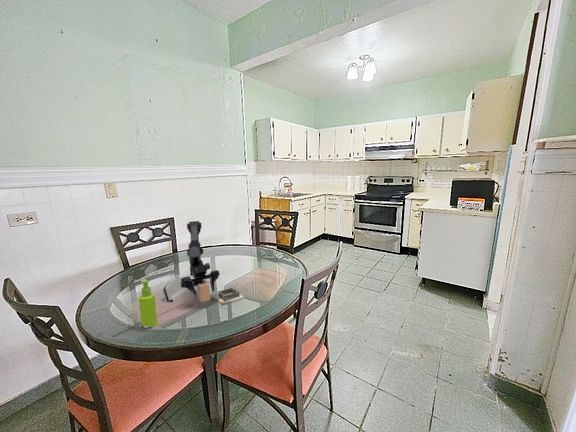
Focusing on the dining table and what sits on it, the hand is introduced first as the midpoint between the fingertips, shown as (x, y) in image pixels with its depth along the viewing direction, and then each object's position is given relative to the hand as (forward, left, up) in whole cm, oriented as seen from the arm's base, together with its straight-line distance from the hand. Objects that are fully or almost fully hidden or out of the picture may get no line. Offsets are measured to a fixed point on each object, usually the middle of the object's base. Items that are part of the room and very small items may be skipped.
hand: (204, 293), depth 124 cm
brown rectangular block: (-1, -1, -7) cm, 7 cm away
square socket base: (-9, +9, -7) cm, 14 cm away
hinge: (-14, -22, -7) cm, 27 cm away
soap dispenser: (+17, -19, -7) cm, 26 cm away
